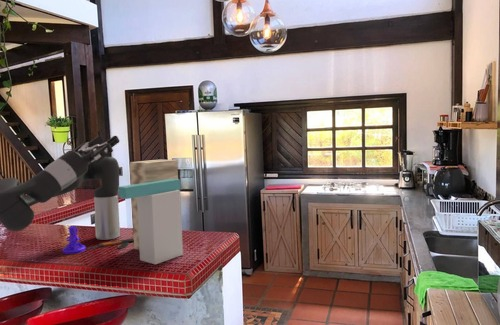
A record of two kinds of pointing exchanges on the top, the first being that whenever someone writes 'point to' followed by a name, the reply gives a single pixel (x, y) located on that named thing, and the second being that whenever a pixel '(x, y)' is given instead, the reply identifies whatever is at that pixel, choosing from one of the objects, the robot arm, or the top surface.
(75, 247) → the figurine
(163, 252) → the white tall block
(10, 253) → the top surface
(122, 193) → the teal long bar
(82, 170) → the robot arm
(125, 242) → the toy rifle
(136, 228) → the stand
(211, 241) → the top surface
